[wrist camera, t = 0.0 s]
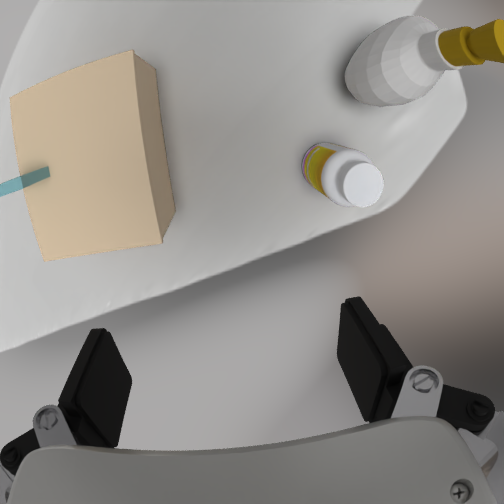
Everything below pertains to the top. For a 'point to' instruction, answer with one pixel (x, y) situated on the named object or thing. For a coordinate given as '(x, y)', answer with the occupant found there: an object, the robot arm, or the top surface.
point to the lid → (85, 161)
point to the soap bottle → (416, 58)
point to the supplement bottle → (343, 175)
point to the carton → (154, 142)
